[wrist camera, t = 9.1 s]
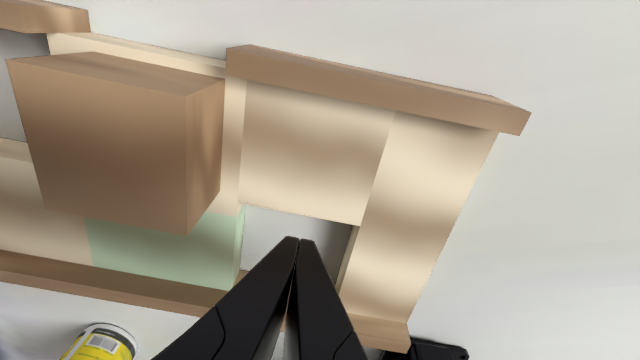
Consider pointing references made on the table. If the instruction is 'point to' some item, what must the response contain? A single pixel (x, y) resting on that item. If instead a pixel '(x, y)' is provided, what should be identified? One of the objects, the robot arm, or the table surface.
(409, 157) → the box
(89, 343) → the supplement bottle
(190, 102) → the block
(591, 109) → the table surface
